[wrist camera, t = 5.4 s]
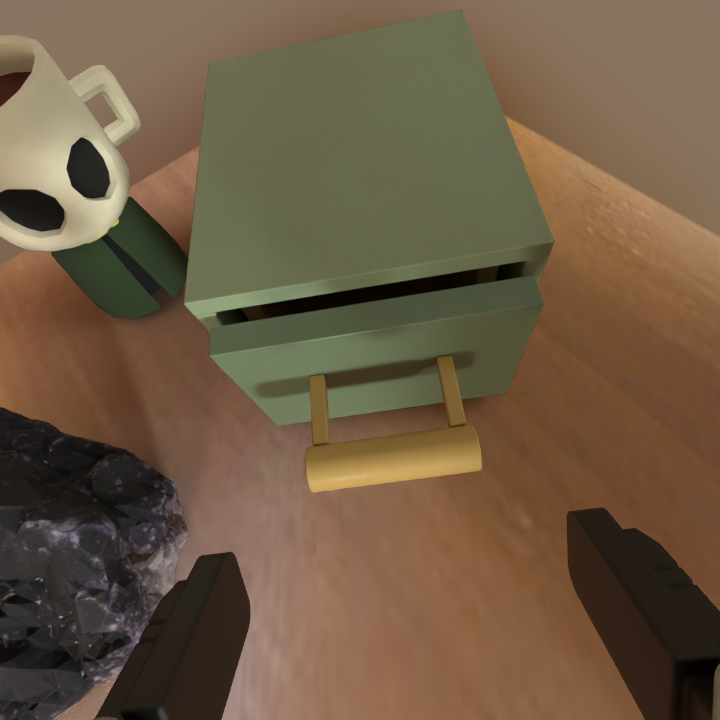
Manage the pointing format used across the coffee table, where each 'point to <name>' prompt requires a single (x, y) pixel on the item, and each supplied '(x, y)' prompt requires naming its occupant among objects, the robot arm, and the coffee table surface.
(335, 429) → the coffee table surface
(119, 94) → the character mug
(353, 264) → the cabinet
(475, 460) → the drawer
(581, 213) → the coffee table surface
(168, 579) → the black rock
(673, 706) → the robot arm
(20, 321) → the coffee table surface
